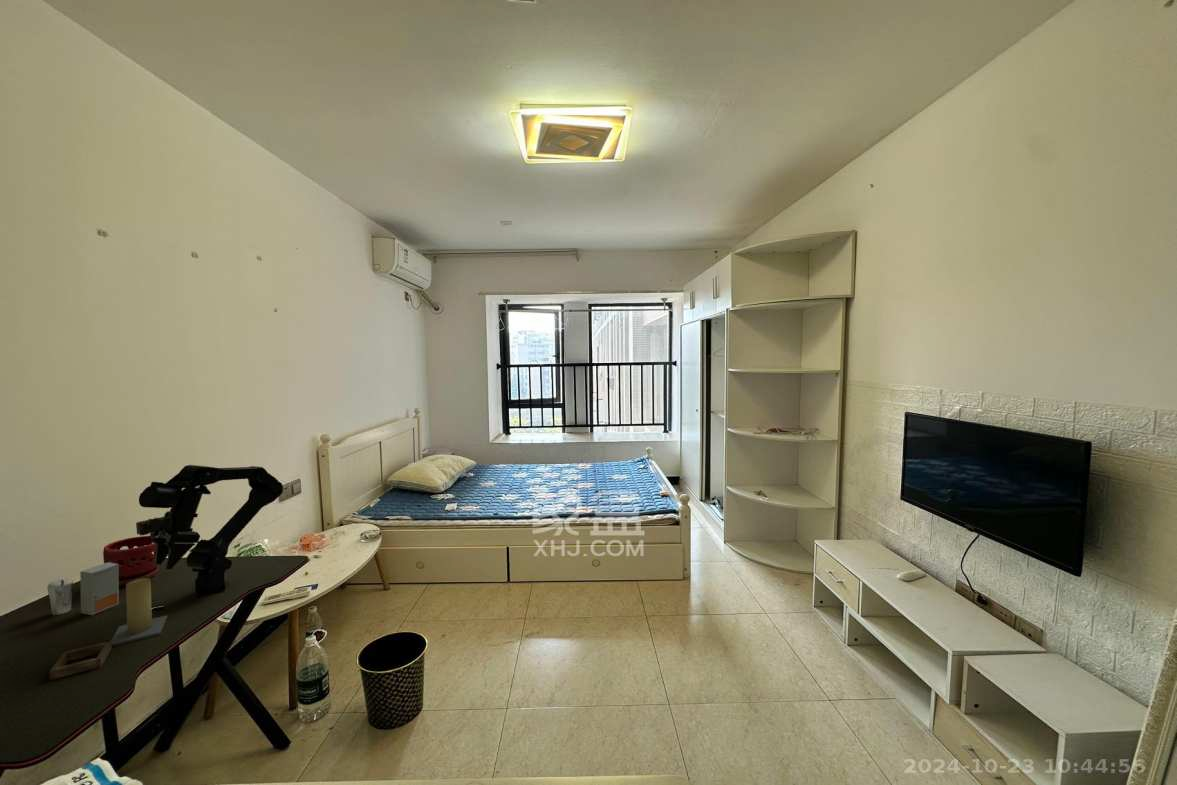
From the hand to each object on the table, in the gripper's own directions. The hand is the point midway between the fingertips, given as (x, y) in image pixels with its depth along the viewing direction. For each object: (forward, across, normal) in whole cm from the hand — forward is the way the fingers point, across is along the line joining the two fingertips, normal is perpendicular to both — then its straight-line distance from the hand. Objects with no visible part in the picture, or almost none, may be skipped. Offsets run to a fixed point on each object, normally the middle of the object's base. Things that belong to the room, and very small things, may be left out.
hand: (163, 566), depth 119 cm
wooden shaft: (+14, +5, -2) cm, 15 cm away
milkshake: (+15, -24, -11) cm, 30 cm away
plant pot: (+8, -34, +4) cm, 35 cm away
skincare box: (+14, -18, -5) cm, 23 cm away
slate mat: (+15, +5, -1) cm, 16 cm away
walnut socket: (+19, +11, -11) cm, 25 cm away
